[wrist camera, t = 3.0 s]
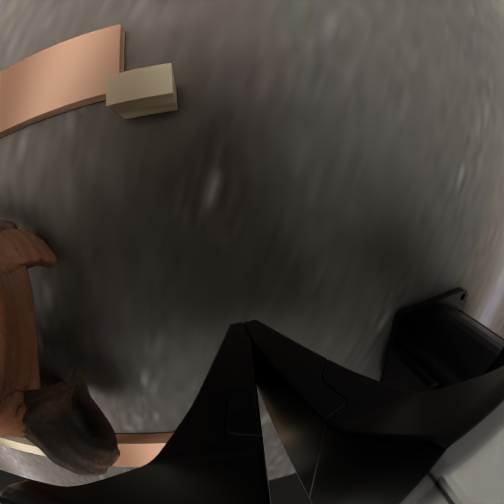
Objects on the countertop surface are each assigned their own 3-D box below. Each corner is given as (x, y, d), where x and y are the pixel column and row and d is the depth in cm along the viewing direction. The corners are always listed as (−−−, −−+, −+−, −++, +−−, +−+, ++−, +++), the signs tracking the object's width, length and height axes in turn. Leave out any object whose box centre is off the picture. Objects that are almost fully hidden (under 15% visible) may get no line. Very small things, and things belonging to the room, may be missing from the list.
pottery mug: (-34, 337, 10) (-119, 330, 2) (31, 219, 13) (-42, 147, 5) (104, 468, 11) (66, 554, 3) (184, 347, 14) (191, 375, 6)
